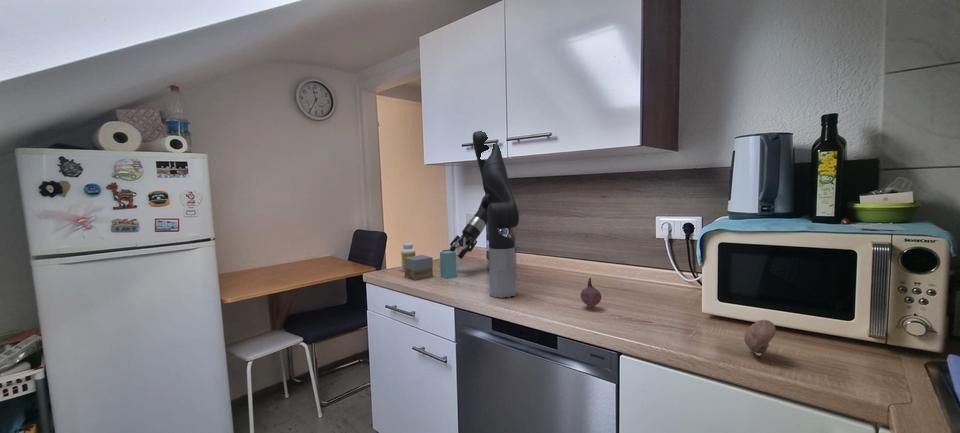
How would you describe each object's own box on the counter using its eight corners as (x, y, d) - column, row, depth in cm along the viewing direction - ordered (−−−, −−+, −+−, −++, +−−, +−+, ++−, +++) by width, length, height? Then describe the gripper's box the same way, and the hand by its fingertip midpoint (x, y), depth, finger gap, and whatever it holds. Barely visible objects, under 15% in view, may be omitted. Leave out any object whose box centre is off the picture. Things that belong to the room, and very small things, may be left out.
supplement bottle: (417, 271, 172) (416, 244, 171) (403, 272, 170) (402, 245, 169) (414, 268, 178) (413, 242, 177) (400, 269, 176) (399, 243, 175)
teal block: (456, 276, 159) (455, 252, 159) (446, 278, 156) (446, 253, 156) (450, 274, 163) (449, 250, 163) (440, 276, 160) (439, 252, 159)
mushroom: (768, 366, 76) (770, 329, 75) (735, 355, 81) (736, 320, 80) (781, 356, 80) (783, 320, 79) (748, 346, 85) (749, 313, 84)
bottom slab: (432, 277, 160) (432, 267, 159) (414, 281, 154) (414, 270, 154) (422, 274, 167) (422, 264, 166) (404, 277, 161) (404, 267, 161)
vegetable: (576, 306, 116) (576, 275, 115) (592, 304, 118) (592, 273, 118) (588, 312, 111) (588, 280, 110) (605, 309, 113) (605, 278, 112)
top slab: (432, 267, 160) (432, 257, 159) (414, 270, 154) (414, 260, 154) (422, 264, 166) (422, 254, 166) (404, 267, 161) (404, 257, 160)
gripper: (460, 222, 171) (440, 249, 165) (478, 224, 160) (458, 253, 154) (469, 232, 175) (450, 259, 169) (488, 235, 164) (468, 263, 157)
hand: (454, 256), depth 161 cm, fingers open, 8 cm apart
